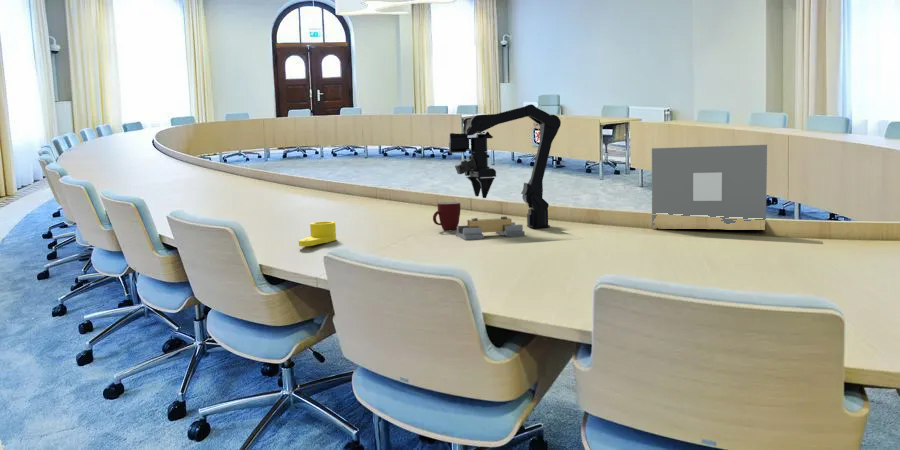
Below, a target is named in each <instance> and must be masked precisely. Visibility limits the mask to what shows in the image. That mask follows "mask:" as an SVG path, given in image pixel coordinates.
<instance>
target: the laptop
mask: <svg viewBox="0 0 900 450" xmlns="http://www.w3.org/2000/svg"><path fill="white" fill-rule="evenodd" d="M767 168H768V144H746V145H745V144H744V145H742V144H741V145H716V146H715V145H712V146H708V145H707V146H686V147H685V146H684V147H683V146H681V147H680V146H679V147H653V148H652V147H651V227H652V226H653V225H655V223H653V221H654V219H655V218H656V216H657V215H652V214H656V213H668V214H669V215H673V214H683V215H681V216H690V215H708V216H710V217H716V216H724V217H720V218H722V219H723V220H721V221H724V223H726V224H730V223H735V222H736V221H733V220H737V219H725V218H729V217H743V219H748V218H763V219H755V220H765V219H766V220H767V187H768V186H767V185H768V184H767V183H768V182H767V181H768V179H767V176H768V173H767V172H768V169H767ZM744 221H751V220H744Z"/></svg>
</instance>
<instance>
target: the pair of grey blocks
mask: <svg viewBox="0 0 900 450" xmlns="http://www.w3.org/2000/svg"><path fill="white" fill-rule="evenodd" d="M523 225H524V224H516V222H515V221H512V225H505V226H504V231H501V232H495V234H498V235H500V236H503V237H505V238H517V237H525V236H526V235H525V230H523V228H524V227H523ZM455 236H456V237H458V238H460V239H462V240H464V241H472V240H484V234H483V233H482V227H475V228H468V224H467V225H465V224H464V225H458V226H457V229H456V231H455Z"/></svg>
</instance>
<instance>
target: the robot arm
mask: <svg viewBox="0 0 900 450" xmlns="http://www.w3.org/2000/svg"><path fill="white" fill-rule="evenodd" d="M523 118H529V119H530V120H532V121H533V122H535V123H537V124H538V125H539V144H538V146H537V147H538V148H537V151H536V155H535V159H534V164H533V167H532V171H531V177H530V179H529V181H528V182H523V187H522V191H521V193H520V194H522V200H523V202H524V203H525V204H526V205H527V206H528V208H529V209H528V208H527V209H528V213H526V223H527V224H526V226H527V227H530V228H532V229H534V228H535V229H536V228H537V229H538V228H550V227H551V225H550V224H549V205H550V204H549V203H548V202H547V201H546V200H545V199H544V198H543V192H544V189H543V187H544V186H543V184H544V183H543V182H544V181H543V180H544V177H545V176H544V175H545V172H546V168H547V164H548V160H549V157H550V152H551V148H552V144H553V141H554V139H555V138H556V136H557V135H558V132H559V129H560V127H561V123H562V122H561V119H560V118H559V117H558V116H557V115H556V114H549V113H548V112H546V111H545V110H542V109H540V108H538V107H537V106H536V105H534V104H526V105H525V106H523V107H522V106H521V107H518V108H514V109H510V110H506V111H502V112H499V113H494V114H489V113H487V114H479V115H475V116H473V117H471V118H470V120H469V123H468V125H469V126H468V128H467V129H466V130H465V132H464V133H453V132H452V133H449V140H448V141H449V142H448V149H449V150H448V151H449V154H464V153H465V154H466V153H467V150H468V151H469V150H470V155H469V156H468V160H463V161H461V162H460V163H457V164H455V165H454V168H455V171H456V173H457V175H463V174H464V176H465V178H466V179H468V180H469V181H470V182H471V186H472V190H473V192H474V196H475V197H479V195H480V192H481V196H482V198H483V199H487V197H488V194H489V191H490V189H491V187H492V184H493V183H494V180H495V179H496V177H497V171H496V170H495V169H494V168H491V167H490V166H489V160H488V159H490V154H488V139H493V138H494V136H493V135H491V134H490V133H489V131H487V130H490V129H491V128H493V127H495V126H497V125H500V124H501V125H502V124H505V123H508V122H512V121H516V120H520V119H523ZM484 131H486V132H485V133H482V132H484ZM476 133H477V134H476ZM475 134H476V137H473V136H474V135H475ZM469 136H472V137H469Z"/></svg>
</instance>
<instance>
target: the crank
mask: <svg viewBox="0 0 900 450" xmlns="http://www.w3.org/2000/svg"><path fill="white" fill-rule="evenodd" d="M309 228H310V236H307V237H304V238H302V239H299V240H298V246H299V247H312V246H316V245H321V244H325V243H331V242H334V241H336V240H337V231H336V222H335V221H330V220H329V221H313V222H310V223H309Z"/></svg>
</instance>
